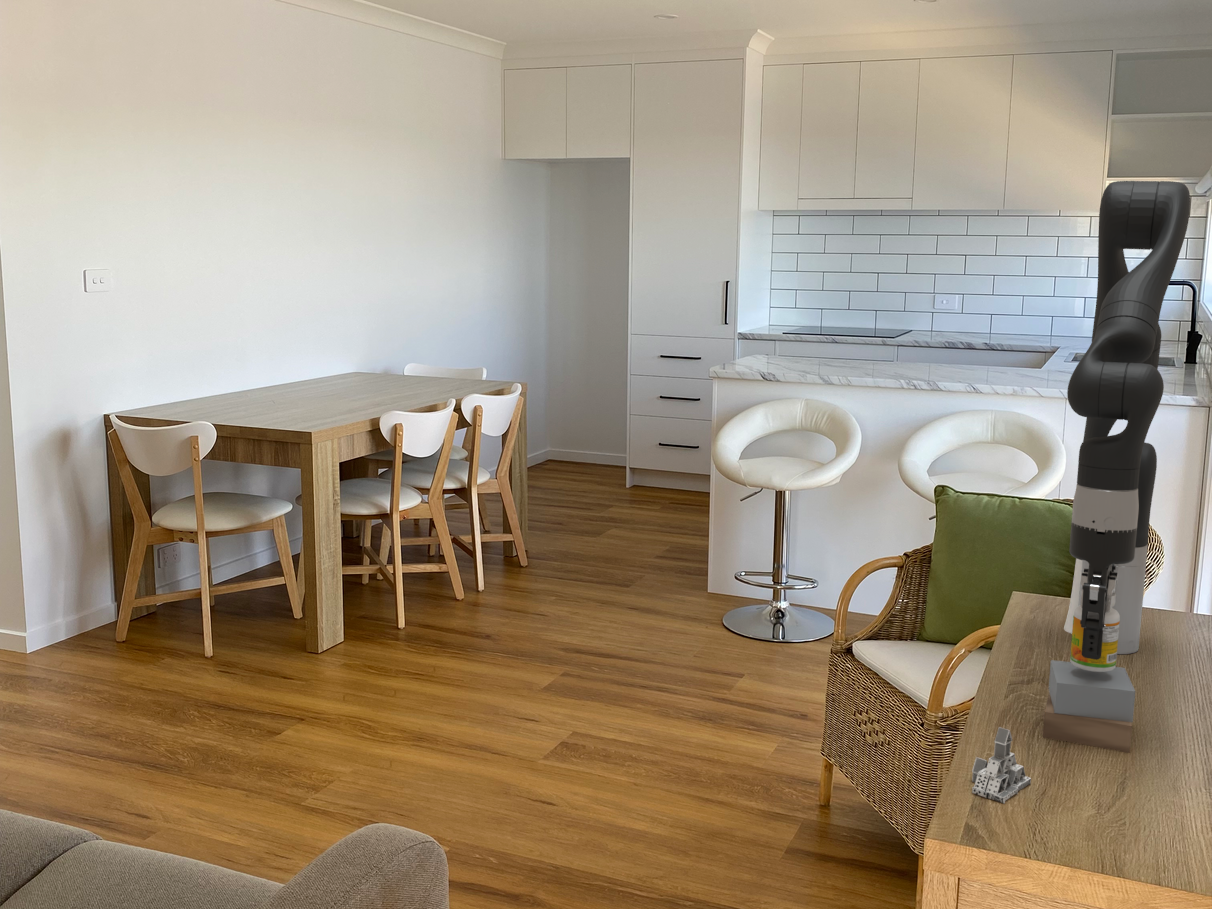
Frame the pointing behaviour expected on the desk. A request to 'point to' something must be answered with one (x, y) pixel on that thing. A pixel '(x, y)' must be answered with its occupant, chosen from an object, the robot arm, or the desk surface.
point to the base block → (1087, 730)
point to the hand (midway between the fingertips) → (1093, 650)
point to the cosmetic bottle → (1074, 596)
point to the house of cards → (999, 771)
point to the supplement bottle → (1108, 642)
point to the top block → (1091, 692)
